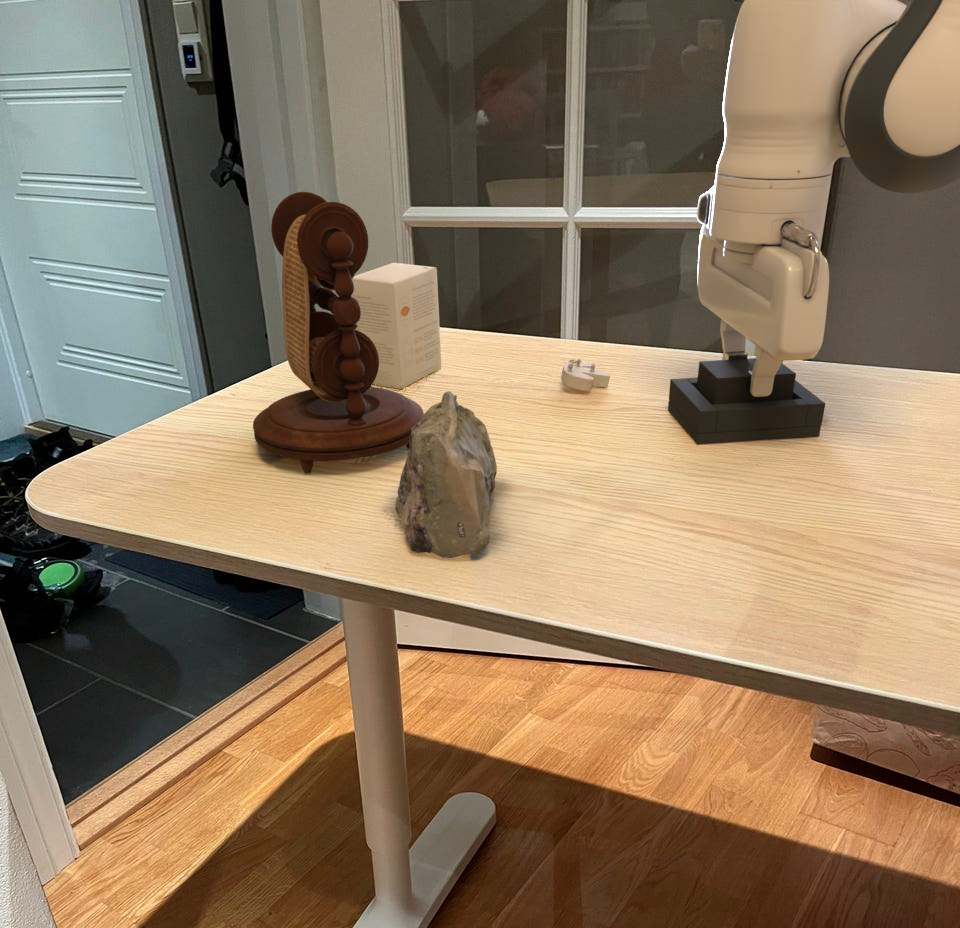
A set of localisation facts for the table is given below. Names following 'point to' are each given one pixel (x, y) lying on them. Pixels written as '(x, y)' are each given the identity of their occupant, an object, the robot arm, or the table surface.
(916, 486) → the table surface
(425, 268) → the small box
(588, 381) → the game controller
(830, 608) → the table surface
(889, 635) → the table surface
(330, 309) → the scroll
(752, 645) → the table surface
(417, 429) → the mineral rock
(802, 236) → the robot arm
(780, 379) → the black rectangular block
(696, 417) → the socket pad
